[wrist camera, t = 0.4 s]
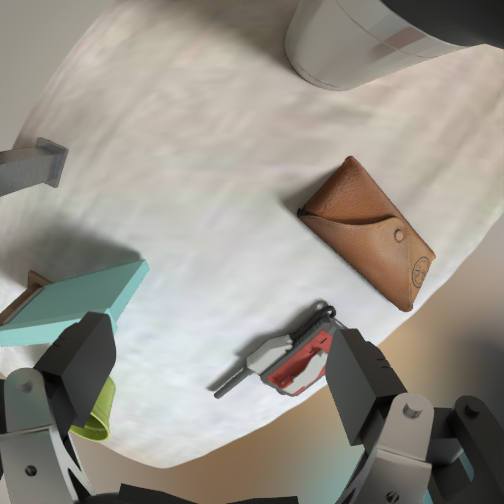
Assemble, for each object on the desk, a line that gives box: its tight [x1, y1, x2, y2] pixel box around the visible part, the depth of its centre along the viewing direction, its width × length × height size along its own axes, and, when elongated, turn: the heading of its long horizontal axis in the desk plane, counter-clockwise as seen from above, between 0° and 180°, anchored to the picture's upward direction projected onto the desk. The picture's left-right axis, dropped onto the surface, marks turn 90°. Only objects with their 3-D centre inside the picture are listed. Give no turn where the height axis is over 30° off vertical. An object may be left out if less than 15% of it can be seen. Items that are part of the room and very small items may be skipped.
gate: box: [0, 259, 149, 347], centre depth 24 cm, size 16×2×11 cm, turn 103°
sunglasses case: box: [297, 156, 436, 312], centre depth 29 cm, size 18×7×7 cm
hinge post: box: [0, 271, 53, 326], centre depth 23 cm, size 4×4×16 cm
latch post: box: [0, 138, 69, 197], centre depth 19 cm, size 4×4×13 cm
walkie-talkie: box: [214, 306, 348, 399], centre depth 34 cm, size 9×4×20 cm
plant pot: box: [69, 376, 115, 442], centre depth 32 cm, size 9×9×9 cm
